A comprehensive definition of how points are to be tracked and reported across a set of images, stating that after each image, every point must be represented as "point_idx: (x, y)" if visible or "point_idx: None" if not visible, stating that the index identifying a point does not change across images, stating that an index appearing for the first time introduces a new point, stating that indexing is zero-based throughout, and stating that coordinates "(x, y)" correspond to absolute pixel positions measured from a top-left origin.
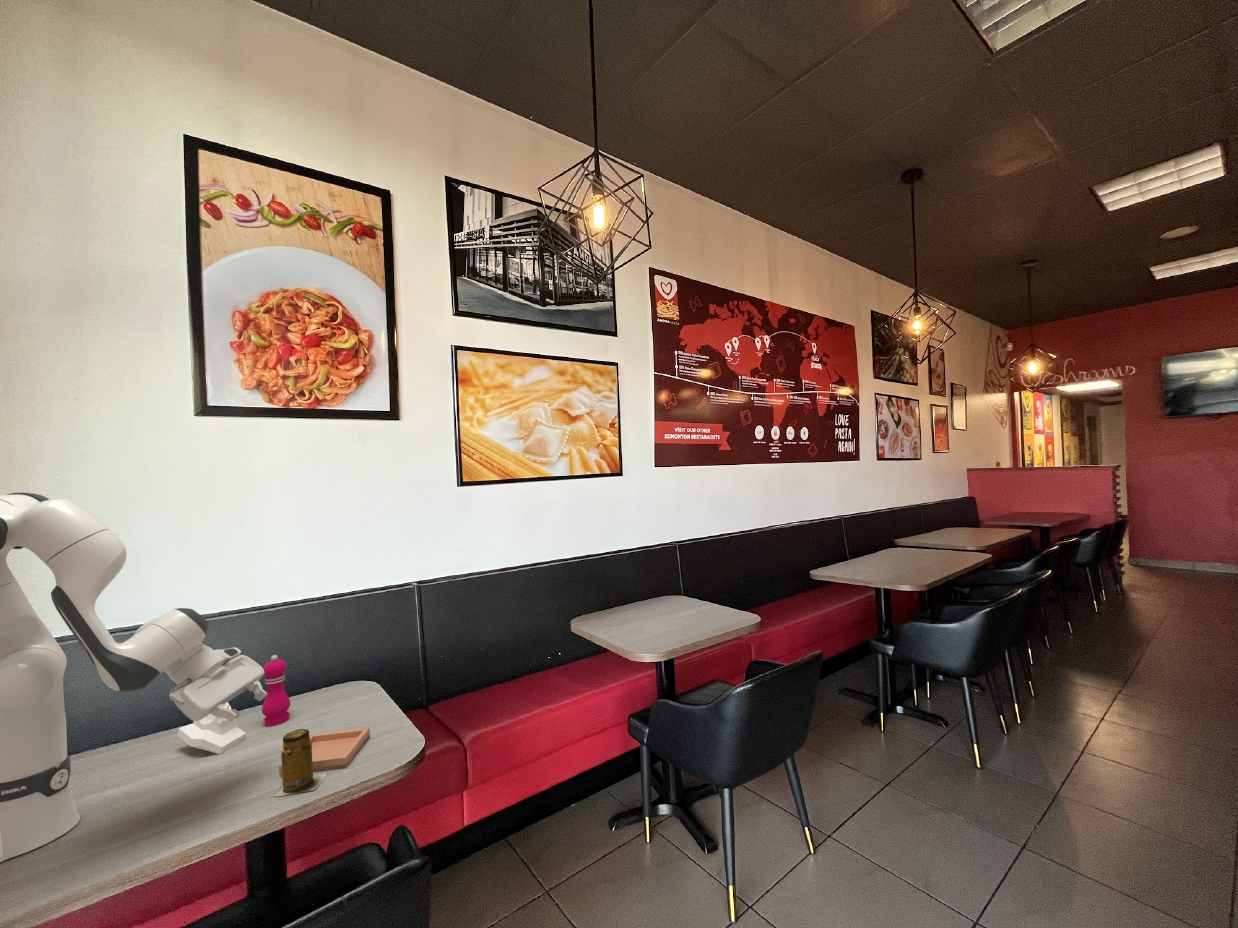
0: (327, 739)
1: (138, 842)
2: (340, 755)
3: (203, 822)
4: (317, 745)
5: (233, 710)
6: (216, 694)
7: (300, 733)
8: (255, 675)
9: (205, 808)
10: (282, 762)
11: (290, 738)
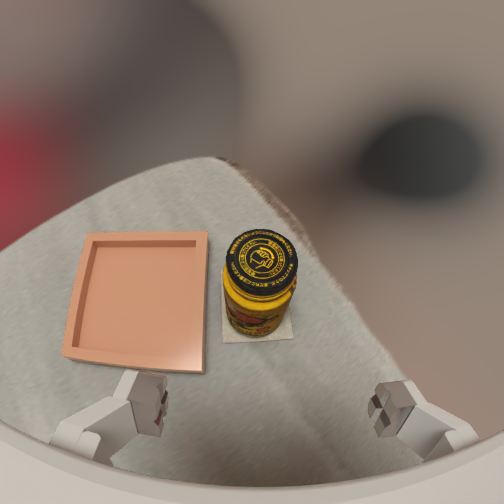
0: (81, 318)
1: None
2: (166, 262)
3: (355, 429)
4: (98, 333)
5: (408, 400)
6: (493, 482)
7: (261, 246)
8: (29, 452)
9: (307, 464)
10: (283, 309)
11: (294, 258)
